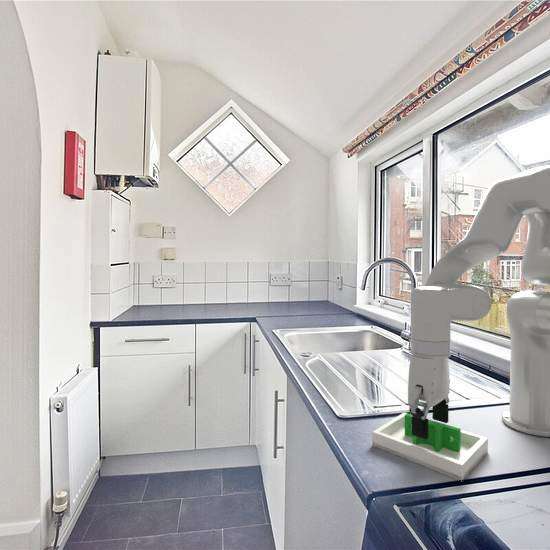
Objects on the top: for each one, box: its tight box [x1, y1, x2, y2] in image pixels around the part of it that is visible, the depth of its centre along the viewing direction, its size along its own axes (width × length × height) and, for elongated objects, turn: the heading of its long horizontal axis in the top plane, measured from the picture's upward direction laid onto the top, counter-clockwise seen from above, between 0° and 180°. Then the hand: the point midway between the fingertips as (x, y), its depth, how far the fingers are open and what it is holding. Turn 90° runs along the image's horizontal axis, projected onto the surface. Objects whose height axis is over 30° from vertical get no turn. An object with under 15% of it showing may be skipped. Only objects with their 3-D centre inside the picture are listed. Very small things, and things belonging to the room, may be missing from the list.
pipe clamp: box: [405, 412, 462, 453], centre depth 78 cm, size 11×4×5 cm, turn 47°
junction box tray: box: [371, 412, 489, 482], centre depth 78 cm, size 14×18×3 cm
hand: (430, 428), depth 78 cm, fingers open, 9 cm apart
